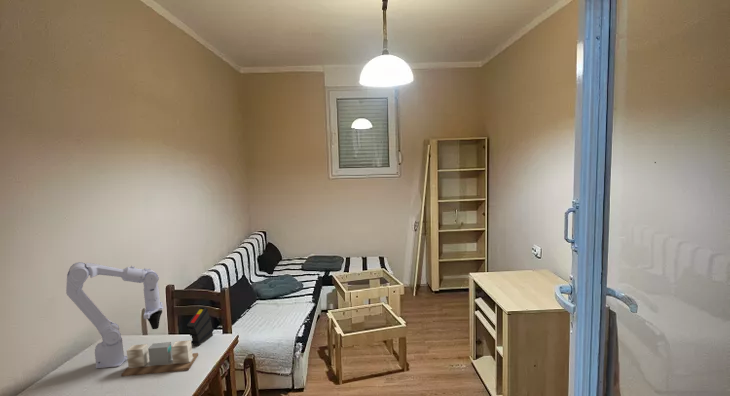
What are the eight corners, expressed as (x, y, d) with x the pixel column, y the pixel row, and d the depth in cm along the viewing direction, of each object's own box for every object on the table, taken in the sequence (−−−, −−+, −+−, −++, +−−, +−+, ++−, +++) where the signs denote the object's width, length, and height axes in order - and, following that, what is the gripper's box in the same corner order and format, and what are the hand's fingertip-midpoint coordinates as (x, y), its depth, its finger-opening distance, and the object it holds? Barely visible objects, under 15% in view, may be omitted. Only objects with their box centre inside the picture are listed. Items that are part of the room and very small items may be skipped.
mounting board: (121, 376, 157) (119, 355, 156) (136, 360, 169) (133, 341, 168) (188, 370, 159) (186, 349, 158) (198, 355, 171) (196, 336, 170)
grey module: (150, 365, 161) (148, 348, 160) (154, 360, 165) (152, 343, 165) (168, 363, 162) (167, 347, 161) (172, 358, 166) (171, 341, 165)
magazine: (217, 329, 192) (206, 306, 184) (203, 352, 181) (190, 329, 174) (210, 328, 193) (199, 306, 185) (195, 352, 182) (183, 329, 175)
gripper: (154, 303, 168) (158, 335, 169) (168, 291, 182) (171, 321, 183) (136, 304, 167) (140, 336, 168) (151, 292, 181) (155, 322, 183)
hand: (155, 328), depth 176 cm, fingers closed
